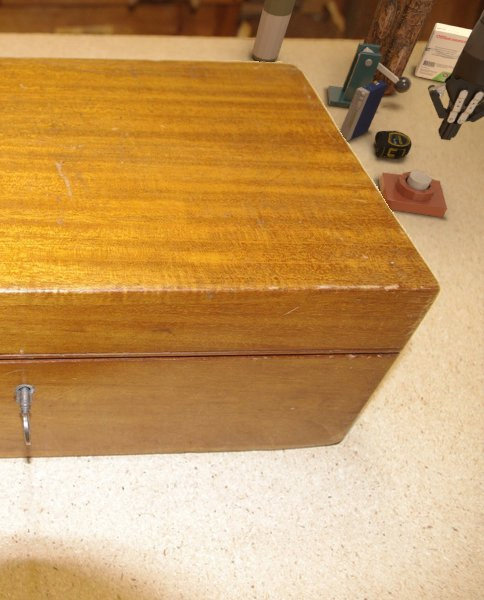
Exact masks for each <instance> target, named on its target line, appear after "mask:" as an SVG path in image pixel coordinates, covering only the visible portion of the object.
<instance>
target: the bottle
mask: <svg viewBox="0 0 484 600" xmlns="http://www.w3.org/2000/svg"><path fill="white" fill-rule="evenodd" d="M296 2H297V0H264V2H263V7H262V11H261V15H260V19H259V23H258V27H257V31H256V35H255V40H254V43H253V48H252V58H253V59H254V60H255V61H258V62H260V61H265V62H270V63H274V62H275V61H277V59H278V57H279V55H280V51H281V48H282V45H283V41H284V38H285V35H286V33H287V29H288V26H289V24H290V19H291V17H292V13H293V10H294V7H295V4H296ZM265 62H264V63H265Z"/></svg>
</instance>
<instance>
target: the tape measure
mask: <svg viewBox="0 0 484 600" xmlns="http://www.w3.org/2000/svg"><path fill="white" fill-rule="evenodd" d="M374 142H375V145H376V152H375V154H376V155H377V157H379V158H388V159H392V160H397V159H403V158H405V157H406V156H407V155H408V154H409V152H410V151H411V149H412V140H411V138H410V136H408V134H405V133H404V132H401V131H397V130H379V131H377V132H376V134H375V136H374Z"/></svg>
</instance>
